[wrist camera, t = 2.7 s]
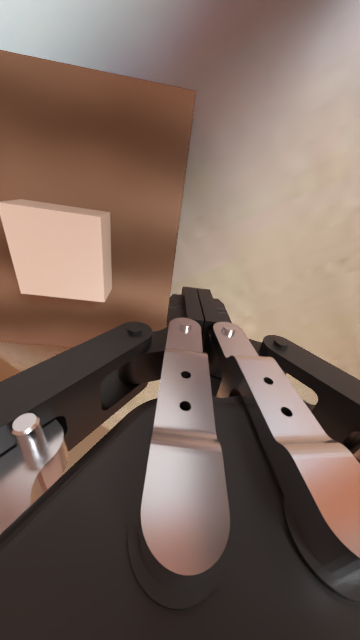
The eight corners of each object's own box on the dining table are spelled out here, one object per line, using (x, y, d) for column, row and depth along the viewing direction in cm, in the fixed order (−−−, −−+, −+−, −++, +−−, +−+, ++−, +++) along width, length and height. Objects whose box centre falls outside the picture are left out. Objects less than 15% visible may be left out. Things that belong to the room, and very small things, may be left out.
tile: (20, 198, 15) (-4, 202, 13) (110, 212, 16) (100, 217, 14) (38, 280, 18) (21, 293, 16) (112, 288, 19) (104, 302, 17)
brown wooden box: (-58, 67, 16) (-166, 15, 11) (189, 116, 18) (196, 90, 13) (13, 308, 26) (-24, 339, 21) (163, 323, 28) (162, 355, 23)
